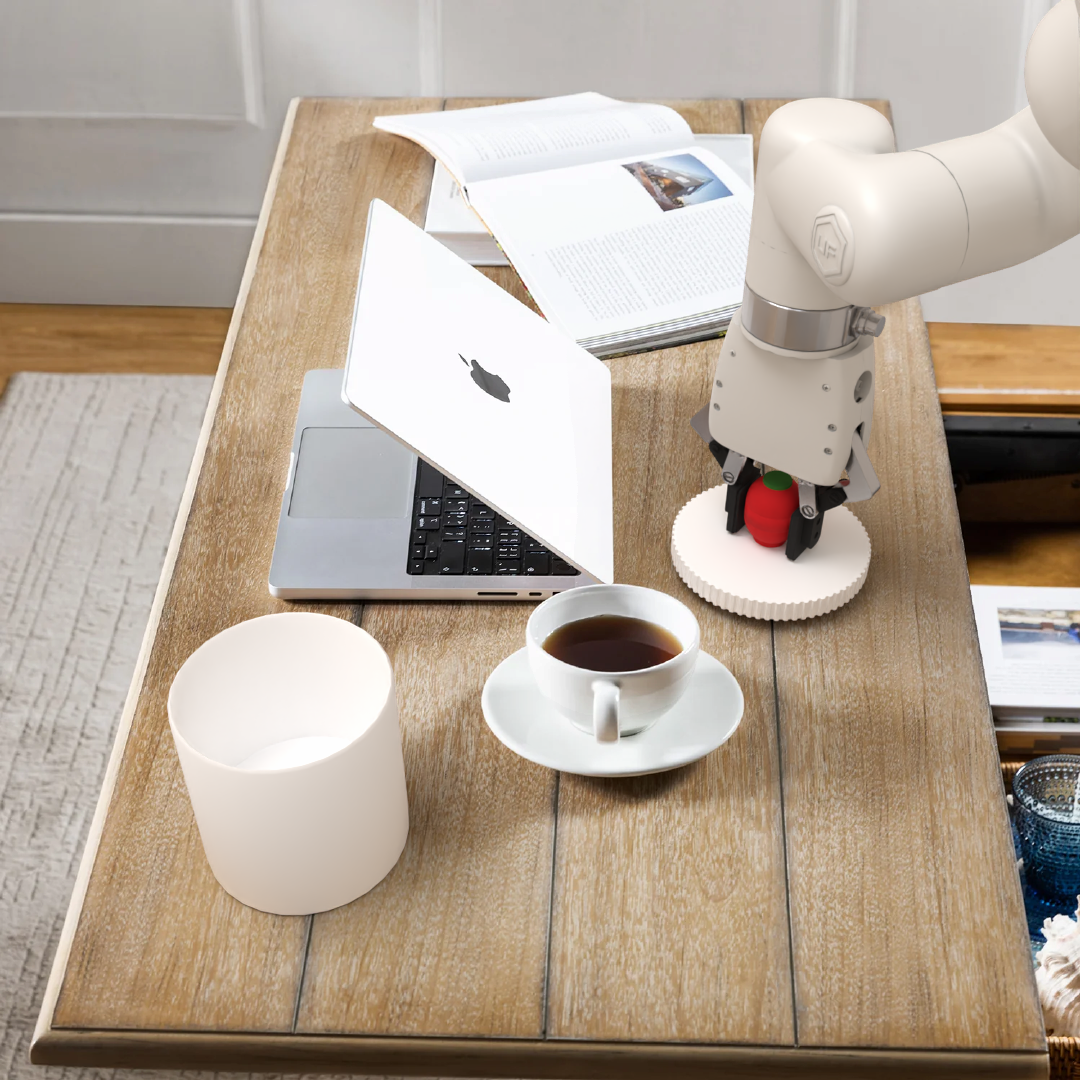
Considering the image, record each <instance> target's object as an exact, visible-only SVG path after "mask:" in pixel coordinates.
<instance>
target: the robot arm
mask: <svg viewBox="0 0 1080 1080" xmlns="http://www.w3.org/2000/svg"><path fill="white" fill-rule="evenodd" d="M1023 68H1024V69H1023V70H1024V71H1023V79H1024V87H1025V92H1026V97H1027V102H1028V105H1026V106H1025V107H1024V108H1022V109H1021V110H1019V111H1018V112H1016V113H1015V114H1014V115H1012V116H1011V117H1009V118H1007V119H1006V120H1003V122H1001V123H999V124H996V125H995V126H994V127H991V128H989V129H987V130H985V131H981V132H978V133H974V134H971V135H966V136H960V137H956V138H951V139H947V140H944V141H940V142H935V143H931V144H928V145H923V146H919V147H915V148H912V149H907V150H903V151H899V152H898V151H897V152H895V135H894V130H893V127H892V126H891V124H890V121H889V120H888V119H887V117H885V115H884V114H883V113H881V112H880V111H878V110H877V109H875V108H874V107H872V106H869V105H867V104H865V103H861V102H857V101H854V100H849V99H846V98H845V99H844V98H837V97H809V98H801V99H797V100H793V101H790V102H787V103H785V104H784V105H781V106H780V107H777V108H776V109H775V110H774V111H773V112H772V113H771V114H770V115H769V116H768V117H767V120H766V121H765V123H764V124H763V128H762V130H761V135H760V138H759V146H758V155H757V165H756V172H755V174H756V175H755V183H754V191H753V201H752V210H751V220H750V227H749V228H750V229H749V238H748V244H747V245H748V246H747V256H746V264H745V265H746V266H745V273H744V274H745V275H744V284H743V290H742V291H743V292H742V293H743V294H742V303H741V305H740V306H739V307H738V308H736V310H735V311H734V313H733V314H732V317H731V319H730V321H729V325H728V327H727V331H726V333H725V337H724V340H723V342H722V345H721V348H720V352H719V356H718V359H717V363H716V368H715V373H714V377H713V382H712V388H711V394H710V400H709V401H708V402H707V403H706V404H705V405H703V407H702V408H701V409H699V410H698V412H697V413H695V414H694V415H693V416H692V417H691V418H690V419H689V424H690V426H691V428H692V429H693V430H694V431H695V433H696V434H697V435H698V436H699V437H700V438H701V439H702V440H703V441H704V443H707V444H708V449H709V452H710V453H711V455H712V456H713V458H714V459H715V460H716V462H717V463H718V465H719V466H720V468H721V473H720V477H721V480H722V481H723V482H724V483H725V484H728V485H727V494H726V503H725V511H726V512H728V516H727V525H726V530H727V531H729V532H731V533H737V532H738V531H739V530H740V529H741V528H742V527H743V526H744V525H745V520H744V510H745V502H746V496H747V492H748V490H749V488H750V486H751V485H752V484H753V482H754V481H755V480H757V479H758V478H759V477H761V476H763V475H762V473H761V468H759V467H757V466H755V465H756V464H757V462H759V463H760V464H763V465H766V466H768V467H770V468H773V469H776V470H778V471H783V472H785V473H788V474H789V475H790V476H793V477H795V478H797V484H798V487H799V503H800V506H799V507H798V508H797V509H796V510H795V511H794V512H793V513H792V515H791V519H790V525H789V532H788V538H787V544H786V551H785V555H787V558H789V559H791V560H793V561H795V560H796V559H797V558H798V557H799V556H800V554H801V553H802V552H803V551H804V550H805V549H806V548H809V549H812V548H813V547H814V546H815V545H816V544H817V542H818V540H819V538H820V535H821V530H822V524H823V519H824V513H825V511H827V510H830V509H832V508H835V507H837V506H840V505H841V504H842V505H843V504H845V503H857V502H862V501H863V502H864V501H869V500H871V499H872V498H873V497H874V496H875V495H876V494H877V493H878V492H879V490H880V489H881V487H882V486H881V482H880V480H879V477H878V475H877V473H876V470H875V468H874V465H873V464H872V461H871V459H870V456H869V454H868V452H867V451H868V449H869V444H870V440H871V433H872V425H873V418H874V417H873V416H874V407H875V395H876V349H875V348H876V347H875V338H879V337H880V336H881V335H882V333H883V331H884V328H885V326H886V320H887V319H886V318H887V317H886V316H884V315H881V314H879V313H876V311H875V310H874V309H872V308H877V307H884V306H886V305H891V304H895V303H899V302H901V301H905V300H908V299H911V298H915V297H918V296H921V295H925V294H928V293H932V292H934V291H938V290H939V289H941V288H944V287H948V286H952V285H955V284H958V283H962V282H965V281H967V280H972V279H974V278H978V277H982V276H985V275H988V274H992V273H996V272H1000V271H1003V270H1005V269H1009V268H1012V267H1015V266H1018V265H1020V264H1023V263H1025V262H1027V261H1030V260H1032V259H1034V258H1036V257H1038V256H1041V255H1042V254H1045V253H1047V252H1049V251H1051V250H1053V249H1054V248H1056V247H1058V246H1060V245H1063V243H1065V242H1067V241H1069V240H1071V239H1072V238H1074V237H1076V236H1078V235H1080V0H1059V1H1058V2H1057V3H1055V5H1054V6H1052V7H1051V8H1050V9H1049V10H1048V11H1047V12H1046V13H1045V15H1043V17H1042V18H1041V19H1040V21H1039V22H1038V23H1037V25H1036V27H1035V29H1034V31H1033V33H1032V35H1031V36H1030V38H1029V41H1028V44H1027V47H1026V51H1025V55H1024V67H1023ZM843 471H845V473H846V474H847V476H848V478H849V479H848V478H846V477H845V478H841V476H842V472H843Z"/></svg>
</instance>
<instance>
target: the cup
mask: <svg viewBox="0 0 1080 1080" xmlns="http://www.w3.org/2000/svg"><path fill="white" fill-rule="evenodd" d="M395 681H396V680H395V672H394V669H393V665H392V663H391V659H390V656H389V654H388V653H387V652H386V650H385V648H384V647H383V646H382V644H381V643H380V642H379V641H378V640H377V639H376V638H374V636H372V635H371V634H370V633H369V632H368V631H366V630H365V629H364V628H362V627H360V626H357V625H356V624H354V623H352V622H351V621H350V622H349V621H348V620H345V619H342V618H339V617H335V616H333V615H329V614H325V613H324V614H323V613H317V612H309V611H293V612H292V611H286V612H279V613H278V612H277V613H273V614H265V615H261V616H257V617H254V618H252V619H247V620H243V621H241V622H239V623H237V624H234V625H232V626H230V627H228V628H225V629H223V630H222V631H220V632H219V633H217V634H215V635H214V636H212V637H211V638H209V639H207V640H206V641H204V643H202V644H201V645H200V646H199V647H198V648H197V649H196V650H194V652H192V653H191V654H190V655H189V656H188V658H187V659H186V660H185V662H184V663H183V664H182V666H181V667H180V668H179V669H178V671H177V672H176V674H175V676H174V679H173V681H172V682H171V685H170V688H169V692H168V698H167V703H166V709H167V714H168V723H169V726H170V730H171V734H172V738H173V741H174V745H175V749H176V752H177V756H178V759H179V764H180V767H181V771H182V774H183V777H184V781H185V784H186V788H187V792H188V796H189V800H190V803H191V807H192V811H193V815H194V817H195V821H196V824H197V829H198V833H199V836H200V839H201V844H202V848H203V850H204V854H205V857H206V860H207V863H208V865H209V867H210V870H211V872H212V874H213V876H214V878H215V880H216V881H217V882H218V883H219V885H220V886H221V887H222V888H223V889H224V891H225V892H226V893H227V894H229V895H230V896H231V897H233V898H234V899H236V900H237V901H239V902H240V903H241V904H243V905H245V906H248V907H250V908H253V909H255V910H258V911H260V912H264V913H269V914H274V915H280V916H306V915H313V914H317V913H323V912H328V911H331V910H333V909H336V908H339V907H342V906H345V905H347V904H350V903H351V902H353V901H355V900H357V899H358V898H360V897H362V896H363V895H365V894H367V893H368V892H370V891H371V890H372V889H374V888H375V887H376V886H377V885H379V883H380V882H382V881H383V880H384V879H385V878H386V877H387V875H388V874H389V873H390V872H391V871H392V869H393V868H394V867H395V865H396V864H397V863H398V861H399V859H400V857H401V855H402V853H403V851H404V848H405V846H406V844H407V839H408V833H409V831H410V819H409V801H408V800H409V799H408V792H407V782H406V774H405V764H404V754H403V745H402V736H401V728H400V727H401V726H400V717H399V709H398V700H397V691H396V690H397V689H396V682H395Z"/></svg>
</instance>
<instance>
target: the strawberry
mask: <svg viewBox="0 0 1080 1080" xmlns="http://www.w3.org/2000/svg"><path fill="white" fill-rule="evenodd" d="M799 506H800V503H799V487H798V482H797V481H796V480H795V479H794V478H793V477H792V475H790V474H788V473H785V472H783V471H780V470H778V469H776V470H769V471H767V472H766V473H764V475H762V476H761V477H759V478H758V479H757V480H755V481H754V482H753V484H752V485H751V486H750V488H749V490H748V492H747V496H746V502H745V510H744V520H745V524H746V527H747V529H748V530H749V532H750V533H751V534H752V535H753V538H754V540H755V541H756V542H757V543H758V544H759V545H761V546H764V547H769V548H775V547H779V546H782V545H783V544H784V543H785V542H786V540H787V538H788V532H789V525H790V519H791V515H792V513H793V512H794V511H795V510H796V509H797V508H798V507H799Z"/></svg>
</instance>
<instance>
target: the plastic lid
mask: <svg viewBox="0 0 1080 1080" xmlns="http://www.w3.org/2000/svg"><path fill="white" fill-rule="evenodd" d="M727 485H728V484H726V483H725V482H724V483H721V485H718V484H717V485H715V486H714V487H713V488H712V487H709V488H708V489H707V490H702V492H701V493H698V494H695V497H691V499H690V501H687V502H685V505H682V507H681V510H680V509H679V511H678V514H677V515H676V516H675V519H674V520H673V525H672V531H671V542H670V556H671V561H673V562H672V564H673V567H675V571H676V573H678V577H679V578H682V582H683V583H684V584H687V587H688V588H689V589H692V592H693V593H695V594H698V597H700V598H704V599H705V601H706V602H708V603H710V602H711V603H712V605H713V606H715V607H720V609H721V610H728V612H729V613H731V614H733V613H737V615H739V616H743V615H744V616H746V617H747V618H750V619H751V618H755V619H756V620H761V619H764V620H765V621H770V620H773V621H774V622H779V621H780V620H782V621H784V622H788V621H789V620H792V621H797V620H798V619H800V620H806V619H807V618H810V619H813V618H815V616H818V617H821V616H823V614H829V613H830V612H831V611H836V610H838V608H839V607H840V608H842V607H843V606H844V604H845V603H846V604H847V603H849V602H850V599H851V600H852V599H853V598H855V595H858V594H859V591H860V590H861V589H862V588H863V585H864V584H865V582H866V579H867V577H868V572H869V566H870V562H871V557H872V548H871V546H872V544H871V542H870V541H871V539H870V537H869V536H868V535H869V533H868V531H866V527H865V526H864V525H863V522H862V521H860V520H859V517H858V516H856V515H854V512H853V511H851V510H849V508H848V507H847V506H843V503H842V504H841V505H840V506H837V507H835V508H832V509H830V510H827V511H825V513H824V519H823V524H822V530H821V535H820V538H819V540H818V542H817V544H816V545H815V546H814V547H813V548H812V549H809V548H806V549H805V550H804V551H803V552H802V553H801V554H800V556H799V557H798V558H797V559H796V560H795V561H793V560H791V559H789V558H787V555H785V551H786V544H787V540H786V542H785V543H784V544H783V545H782V546H779V547H775V548H769V547H764V546H761V545H759V544H758V543H757V542H756V541H755V540H754V538H753V535H752V534H751V533H750V532H749V530H748V529H747V527H746V524H745V525H744V526H743V527H742V528H741V529H740V530H739V531H738V532H737V533H731V532H729V531H727V530H726V525H727V516H728V512H726V511H725V503H726V494H727Z"/></svg>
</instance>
